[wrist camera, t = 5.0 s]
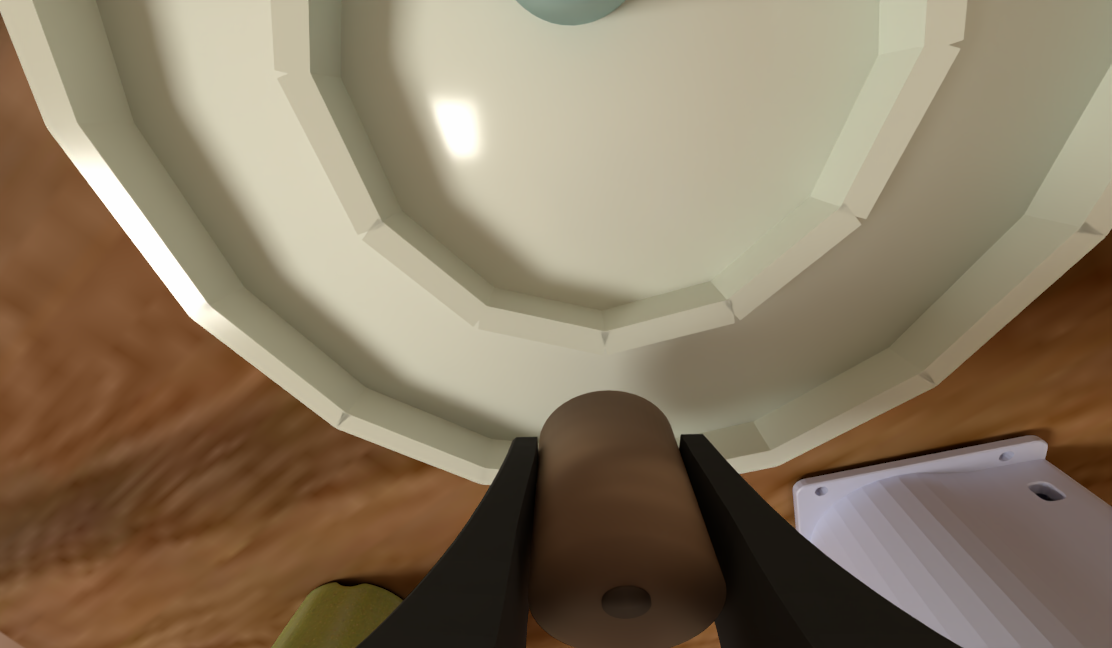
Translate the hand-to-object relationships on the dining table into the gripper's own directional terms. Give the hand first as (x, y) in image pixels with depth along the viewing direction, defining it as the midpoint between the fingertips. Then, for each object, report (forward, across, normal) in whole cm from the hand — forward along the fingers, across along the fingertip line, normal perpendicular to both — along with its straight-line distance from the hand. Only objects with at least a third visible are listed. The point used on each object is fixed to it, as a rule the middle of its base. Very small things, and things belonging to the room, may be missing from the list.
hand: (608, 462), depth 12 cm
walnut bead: (+1, 0, 0) cm, 1 cm away
